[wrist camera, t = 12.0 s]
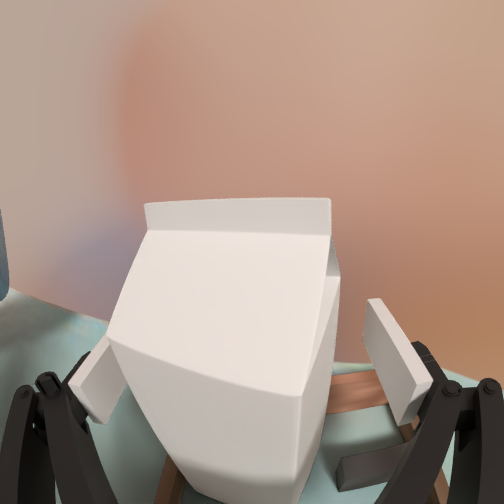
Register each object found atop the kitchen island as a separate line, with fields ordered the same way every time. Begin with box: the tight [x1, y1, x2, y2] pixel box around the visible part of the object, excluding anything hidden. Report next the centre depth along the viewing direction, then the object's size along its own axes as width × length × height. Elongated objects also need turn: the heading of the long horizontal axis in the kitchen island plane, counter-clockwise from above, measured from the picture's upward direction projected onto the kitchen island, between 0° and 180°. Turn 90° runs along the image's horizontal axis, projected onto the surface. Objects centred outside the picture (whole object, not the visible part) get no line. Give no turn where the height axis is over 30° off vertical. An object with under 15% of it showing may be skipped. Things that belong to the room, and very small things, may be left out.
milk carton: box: [106, 198, 340, 504], centre depth 12 cm, size 7×7×19 cm
